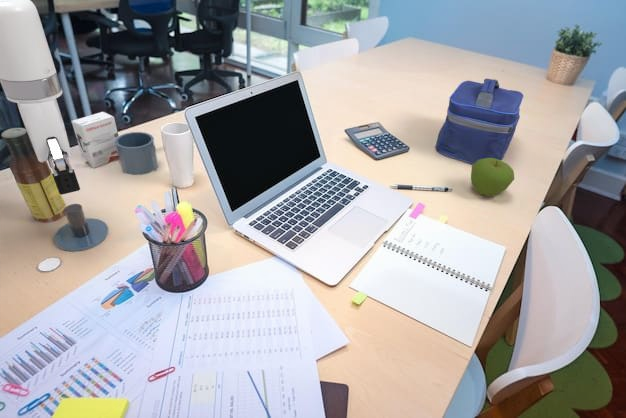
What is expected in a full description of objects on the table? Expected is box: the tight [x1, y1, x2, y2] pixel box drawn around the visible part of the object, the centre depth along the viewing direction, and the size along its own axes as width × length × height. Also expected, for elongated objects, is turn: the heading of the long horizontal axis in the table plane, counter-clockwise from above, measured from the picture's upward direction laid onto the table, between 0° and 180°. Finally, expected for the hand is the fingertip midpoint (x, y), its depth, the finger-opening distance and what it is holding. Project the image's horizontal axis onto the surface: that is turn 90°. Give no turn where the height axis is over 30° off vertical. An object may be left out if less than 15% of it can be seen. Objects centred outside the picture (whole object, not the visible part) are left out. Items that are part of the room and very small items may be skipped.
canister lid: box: [53, 203, 109, 252], centre depth 77 cm, size 10×10×7 cm
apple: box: [470, 158, 515, 197], centre depth 104 cm, size 11×10×10 cm
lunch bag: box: [434, 78, 524, 165], centre depth 125 cm, size 31×21×20 cm
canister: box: [115, 131, 159, 176], centre depth 99 cm, size 9×9×8 cm
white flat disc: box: [36, 256, 63, 274], centre depth 72 cm, size 4×4×1 cm
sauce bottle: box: [1, 127, 67, 223], centre depth 78 cm, size 6×6×20 cm
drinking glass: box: [160, 121, 195, 189], centre depth 93 cm, size 7×7×15 cm
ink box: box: [71, 111, 120, 169], centre depth 100 cm, size 9×5×12 cm, turn 144°
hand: (65, 178), depth 71 cm, fingers open, 9 cm apart
